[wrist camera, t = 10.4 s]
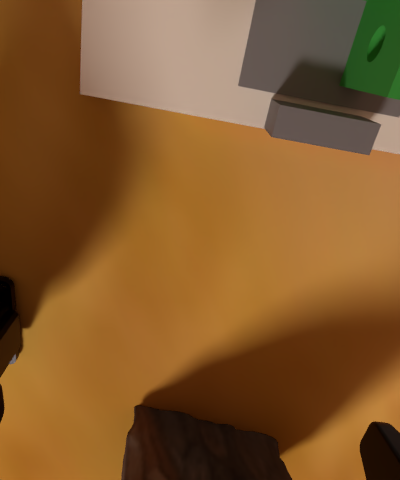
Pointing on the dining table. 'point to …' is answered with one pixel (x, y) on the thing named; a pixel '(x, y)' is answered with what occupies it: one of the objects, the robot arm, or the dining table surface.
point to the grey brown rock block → (197, 450)
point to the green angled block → (376, 51)
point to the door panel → (239, 66)
